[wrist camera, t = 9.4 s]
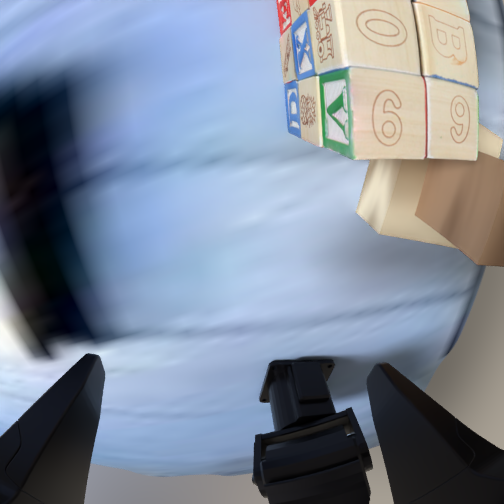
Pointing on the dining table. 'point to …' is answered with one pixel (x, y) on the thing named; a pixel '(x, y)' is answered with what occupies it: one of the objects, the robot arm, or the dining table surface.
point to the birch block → (406, 194)
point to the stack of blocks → (381, 77)
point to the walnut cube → (466, 205)
